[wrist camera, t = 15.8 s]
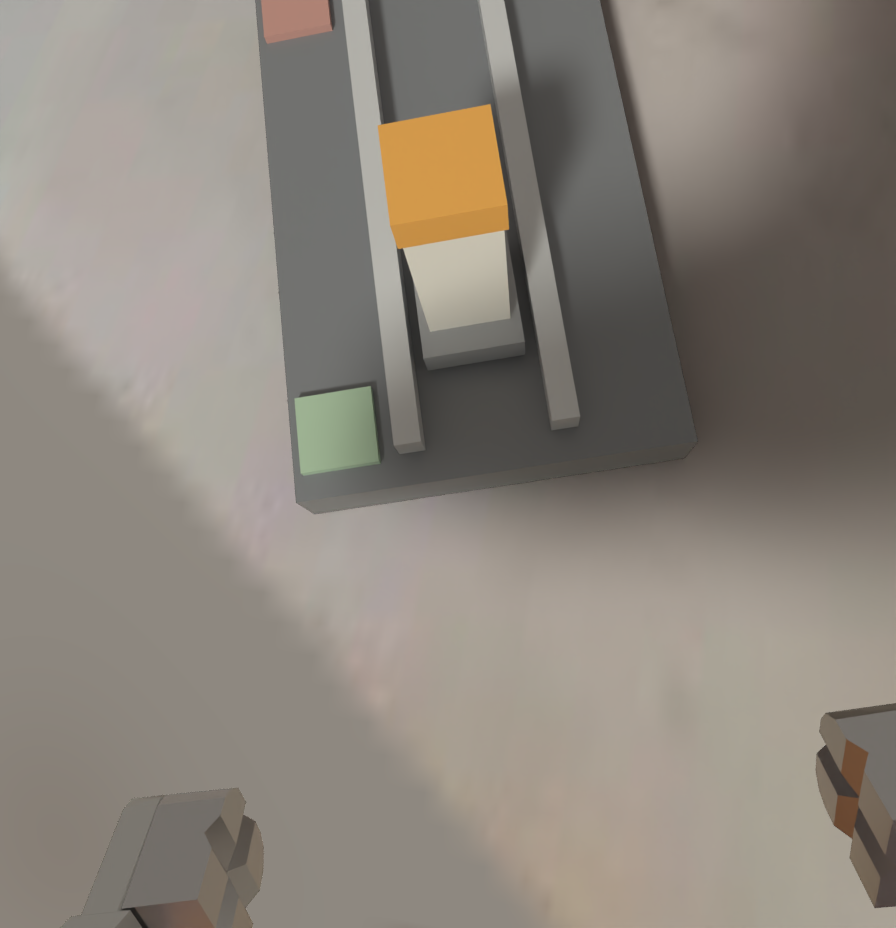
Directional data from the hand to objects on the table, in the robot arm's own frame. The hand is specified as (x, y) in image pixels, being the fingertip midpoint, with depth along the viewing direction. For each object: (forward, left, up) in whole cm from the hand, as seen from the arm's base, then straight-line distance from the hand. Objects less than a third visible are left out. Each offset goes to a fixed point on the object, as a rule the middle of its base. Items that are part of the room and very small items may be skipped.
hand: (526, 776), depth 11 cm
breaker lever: (-7, -10, -10) cm, 16 cm away
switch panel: (-9, -14, -12) cm, 21 cm away
